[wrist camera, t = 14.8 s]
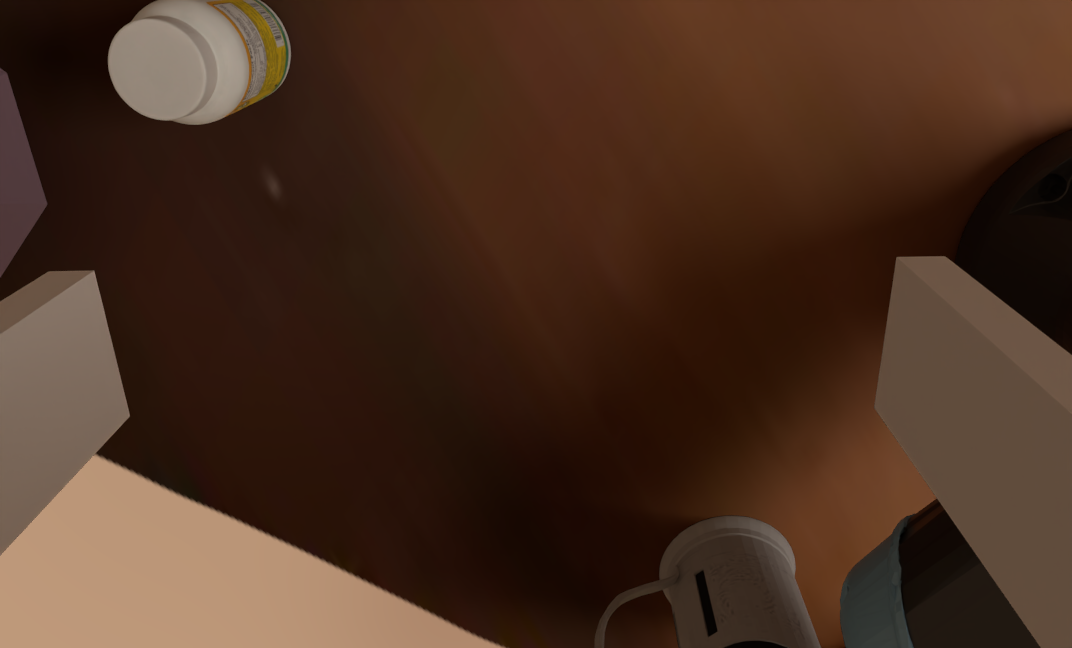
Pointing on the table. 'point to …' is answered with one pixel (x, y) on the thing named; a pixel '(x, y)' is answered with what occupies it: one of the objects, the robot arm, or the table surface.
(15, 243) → the flask
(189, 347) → the table surface
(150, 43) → the supplement bottle
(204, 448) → the table surface
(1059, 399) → the robot arm
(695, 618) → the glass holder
